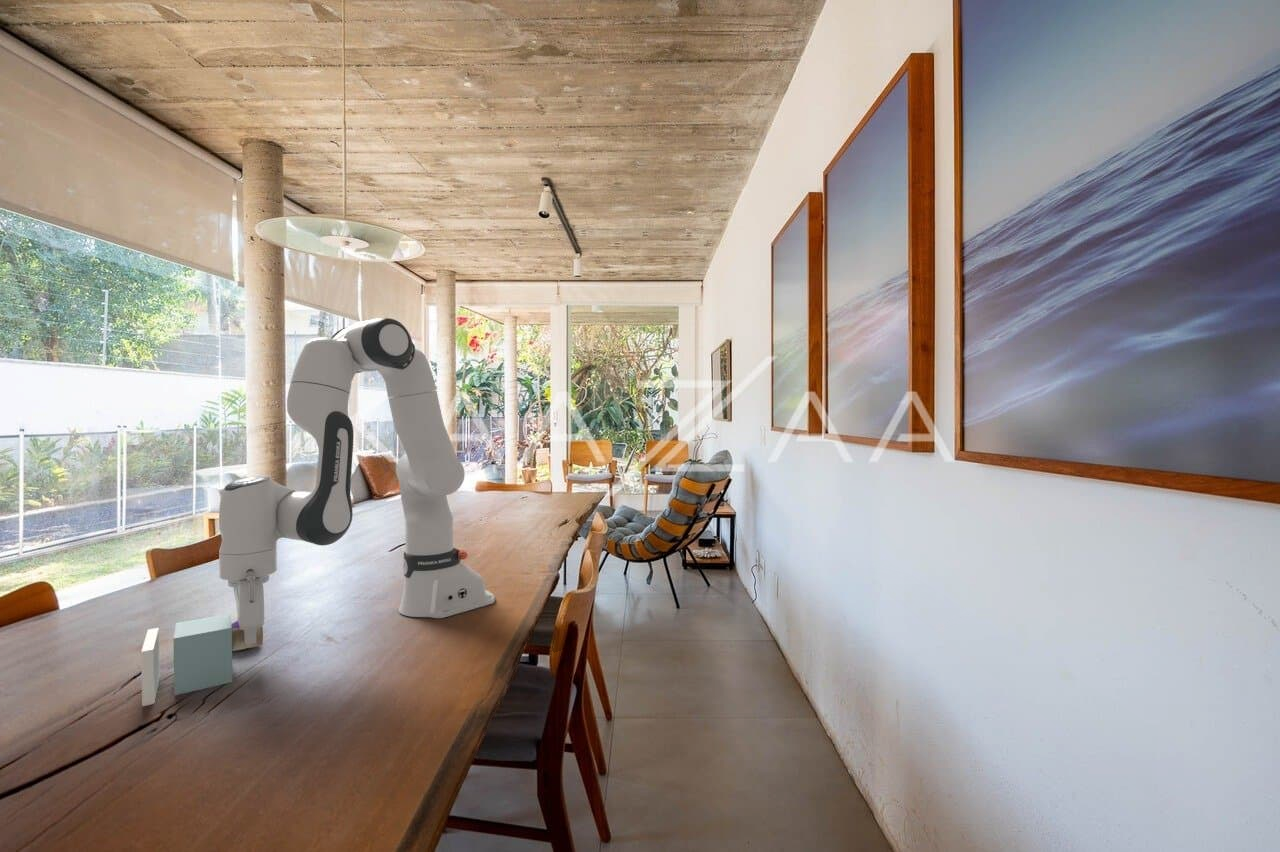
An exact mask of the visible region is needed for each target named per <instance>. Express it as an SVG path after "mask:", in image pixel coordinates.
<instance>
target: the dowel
mask: <svg viewBox="0 0 1280 852" xmlns="http://www.w3.org/2000/svg"><path fill="white" fill-rule="evenodd" d="M263 626H264V625H263ZM263 626H261V627H257V633H256V642H255V643H254V644H249V645H246V644H245V643H244V630H241V629H240V628H239V627H238V628H233V629H232V652H236V651H242V650H241V649H244V650H247V649H246V648H248V649H250V648H256V647H261V646H263V645H264V629H263Z"/></svg>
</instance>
